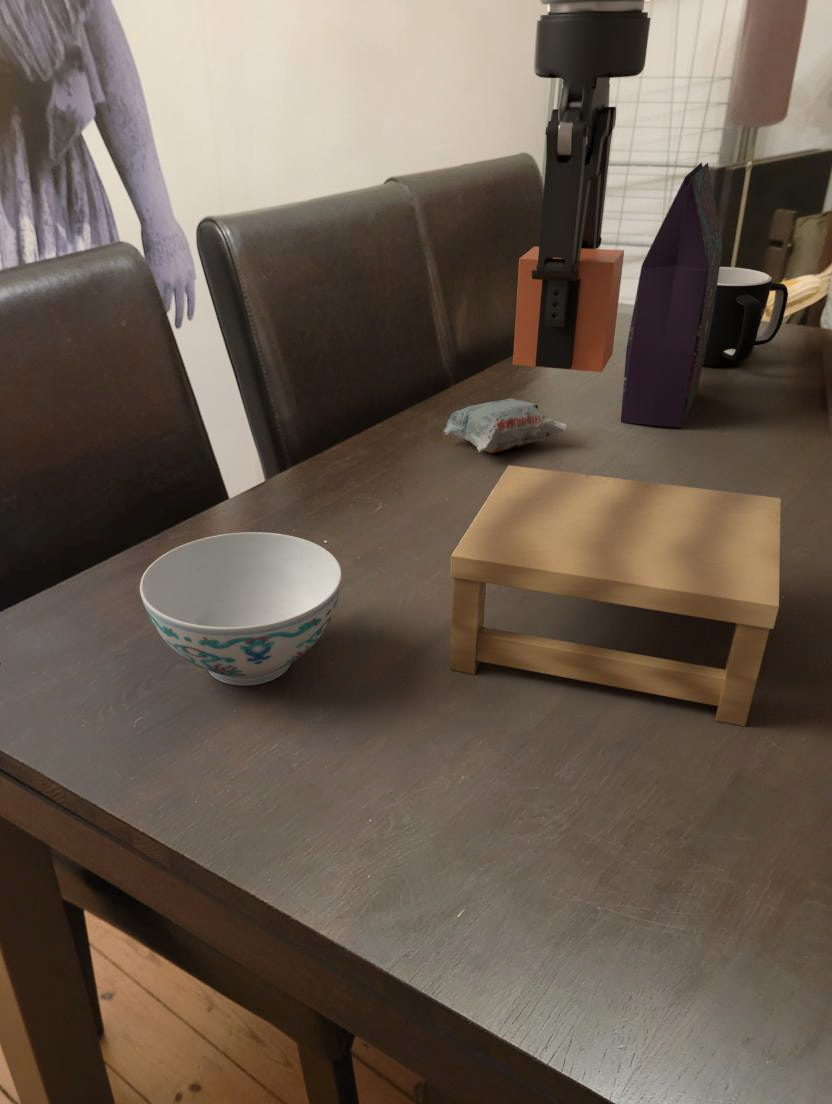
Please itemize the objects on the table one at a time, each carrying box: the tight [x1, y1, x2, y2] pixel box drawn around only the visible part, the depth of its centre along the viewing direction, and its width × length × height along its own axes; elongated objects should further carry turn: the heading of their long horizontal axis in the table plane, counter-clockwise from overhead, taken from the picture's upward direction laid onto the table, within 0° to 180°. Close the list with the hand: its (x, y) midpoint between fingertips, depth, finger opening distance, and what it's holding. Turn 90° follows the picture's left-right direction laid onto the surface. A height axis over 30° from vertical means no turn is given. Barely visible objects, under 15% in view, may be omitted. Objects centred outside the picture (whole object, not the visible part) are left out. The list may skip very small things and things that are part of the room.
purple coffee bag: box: [620, 162, 723, 430], centre depth 117 cm, size 8×16×28 cm, turn 156°
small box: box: [512, 246, 625, 373], centre depth 75 cm, size 7×5×8 cm
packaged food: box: [443, 398, 567, 454], centre depth 113 cm, size 9×12×5 cm
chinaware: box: [139, 531, 343, 686], centre depth 73 cm, size 15×15×8 cm
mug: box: [703, 266, 789, 367], centre depth 139 cm, size 16×16×12 cm
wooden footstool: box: [449, 465, 782, 727], centre depth 75 cm, size 22×18×10 cm
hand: (560, 355), depth 77 cm, fingers closed on small box, 5 cm apart
